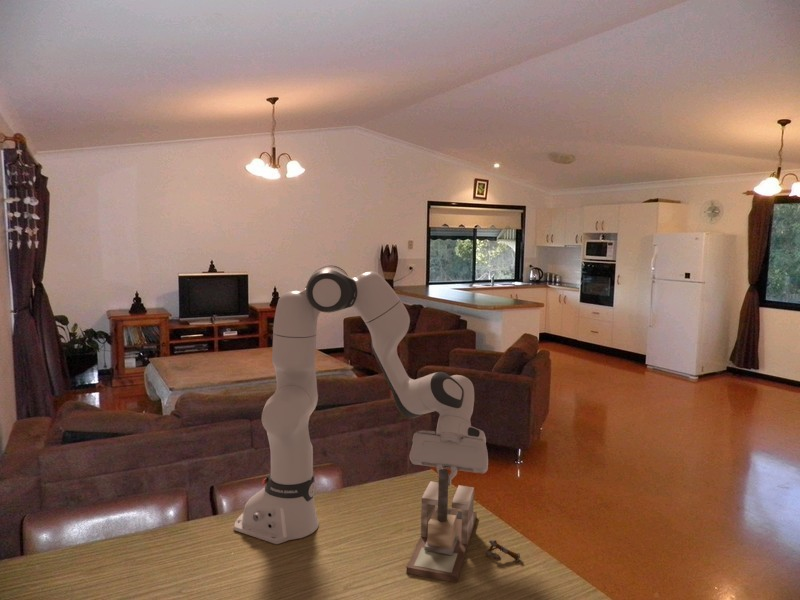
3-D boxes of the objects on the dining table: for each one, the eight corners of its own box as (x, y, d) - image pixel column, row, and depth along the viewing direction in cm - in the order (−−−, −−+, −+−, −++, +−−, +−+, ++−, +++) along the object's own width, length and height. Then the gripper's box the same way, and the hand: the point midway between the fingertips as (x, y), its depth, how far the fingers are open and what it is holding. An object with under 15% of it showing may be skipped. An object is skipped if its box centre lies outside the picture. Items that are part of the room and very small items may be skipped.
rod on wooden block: (424, 550, 137) (426, 475, 134) (431, 533, 144) (433, 463, 142) (452, 555, 135) (454, 479, 133) (458, 538, 142) (460, 466, 140)
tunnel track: (406, 573, 130) (407, 524, 129) (434, 510, 160) (435, 471, 159) (457, 582, 127) (458, 533, 126) (476, 517, 157) (477, 476, 155)
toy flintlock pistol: (482, 550, 139) (490, 536, 138) (512, 566, 138) (520, 552, 137) (482, 555, 137) (490, 540, 136) (512, 571, 136) (520, 556, 135)
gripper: (412, 423, 148) (402, 473, 140) (490, 432, 143) (483, 485, 135) (416, 434, 153) (406, 483, 145) (491, 443, 148) (485, 494, 139)
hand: (444, 484), depth 140 cm, fingers closed, pressing on rod on wooden block
